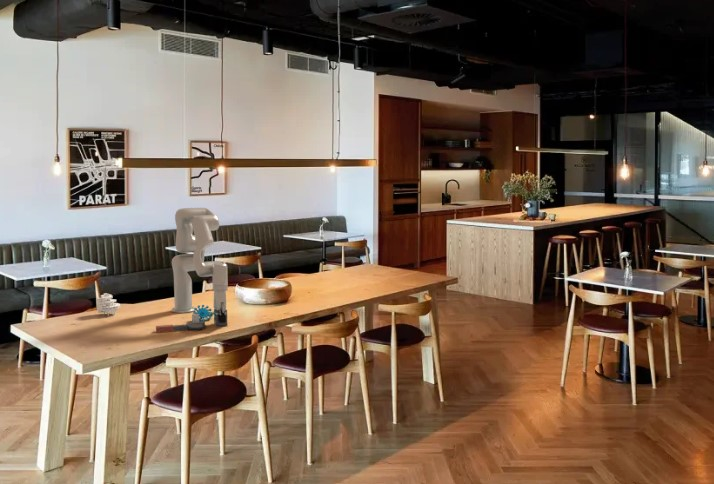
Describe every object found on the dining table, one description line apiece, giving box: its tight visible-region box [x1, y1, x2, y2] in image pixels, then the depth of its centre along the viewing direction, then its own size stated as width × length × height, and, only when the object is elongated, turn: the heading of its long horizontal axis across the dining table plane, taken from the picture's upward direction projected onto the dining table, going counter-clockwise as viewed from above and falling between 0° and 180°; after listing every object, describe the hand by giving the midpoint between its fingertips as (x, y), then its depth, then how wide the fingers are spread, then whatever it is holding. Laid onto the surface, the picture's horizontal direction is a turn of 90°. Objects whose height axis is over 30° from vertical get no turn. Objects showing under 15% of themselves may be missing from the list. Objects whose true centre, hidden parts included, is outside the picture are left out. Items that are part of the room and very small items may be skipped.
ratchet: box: [155, 314, 206, 334], centre depth 319 cm, size 9×24×7 cm, turn 113°
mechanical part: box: [96, 292, 121, 317], centre depth 350 cm, size 11×12×12 cm
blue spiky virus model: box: [192, 304, 214, 322], centre depth 342 cm, size 11×6×10 cm
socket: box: [213, 308, 228, 328], centre depth 330 cm, size 6×6×8 cm
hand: (220, 320), depth 330 cm, fingers open, 9 cm apart
